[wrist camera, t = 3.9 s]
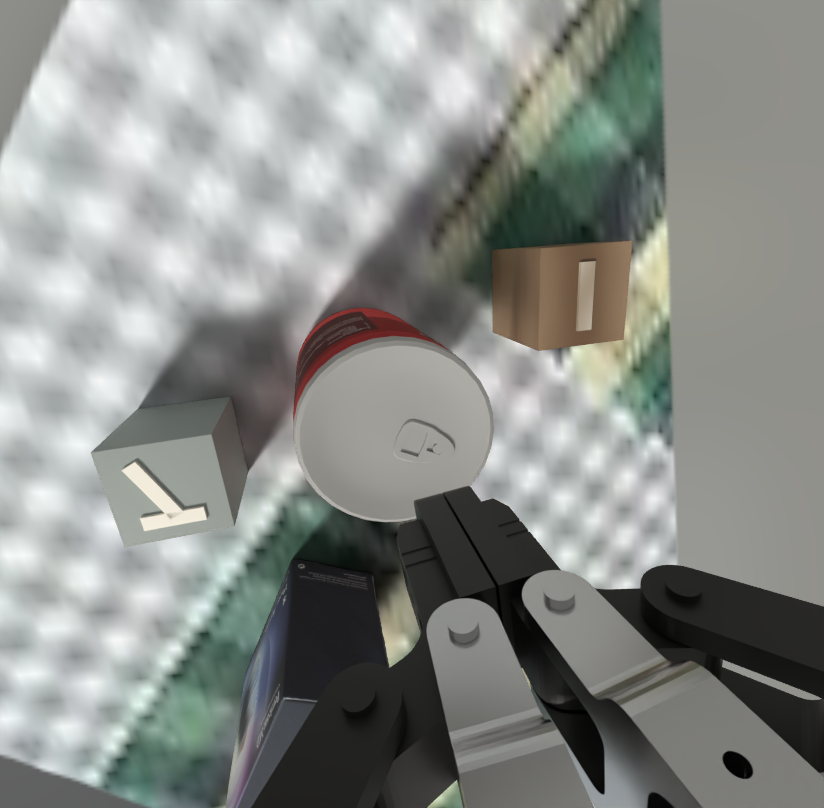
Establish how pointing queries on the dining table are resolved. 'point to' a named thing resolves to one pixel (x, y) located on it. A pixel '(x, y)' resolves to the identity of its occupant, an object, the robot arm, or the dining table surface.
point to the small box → (300, 664)
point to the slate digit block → (173, 470)
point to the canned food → (386, 416)
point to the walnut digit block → (561, 293)
